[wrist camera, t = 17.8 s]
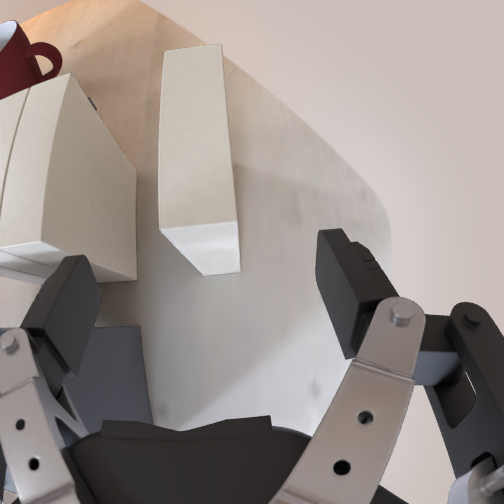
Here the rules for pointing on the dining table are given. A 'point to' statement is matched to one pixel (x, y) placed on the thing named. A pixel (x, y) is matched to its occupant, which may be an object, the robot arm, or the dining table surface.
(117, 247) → the white books
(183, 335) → the dining table surface
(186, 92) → the white book
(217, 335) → the dining table surface
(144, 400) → the grey books
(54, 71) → the mug
